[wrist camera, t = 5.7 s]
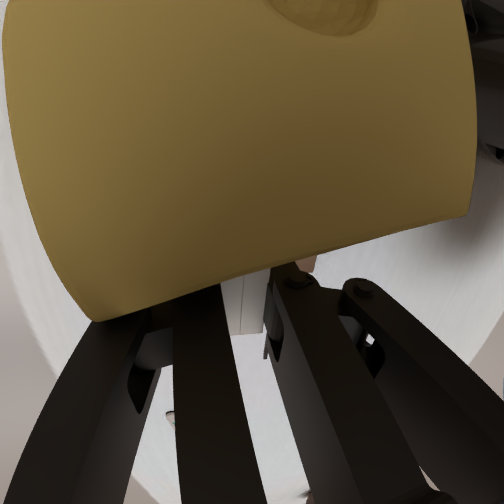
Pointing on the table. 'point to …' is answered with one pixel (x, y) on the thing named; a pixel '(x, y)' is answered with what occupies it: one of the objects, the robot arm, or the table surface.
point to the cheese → (231, 134)
